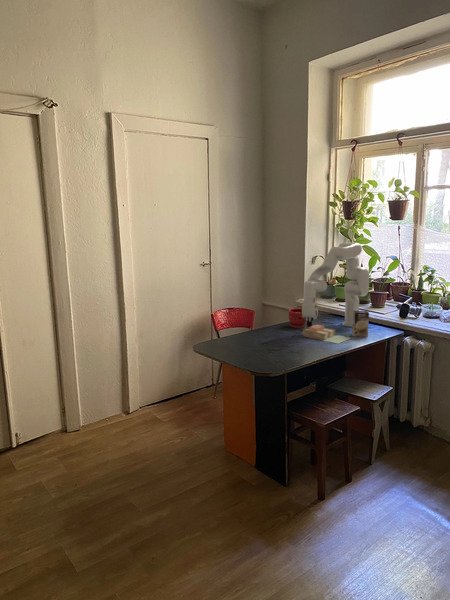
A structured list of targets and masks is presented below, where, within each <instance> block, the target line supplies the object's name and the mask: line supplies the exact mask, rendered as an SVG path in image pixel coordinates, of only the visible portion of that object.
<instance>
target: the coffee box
mask: <svg viewBox="0 0 450 600" xmlns="http://www.w3.org/2000/svg"><path fill="white" fill-rule="evenodd" d="M369 319H370V312H369V311H367V310H359V311H353V327H351V328H352V329H351V330H352V331H351V334H352V336H353V337H356V338H357V337H361V338H363V337H364V338H365V337H366V338H368V337H369Z"/></svg>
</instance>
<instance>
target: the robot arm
mask: <svg viewBox="0 0 450 600" xmlns="http://www.w3.org/2000/svg"><path fill="white" fill-rule="evenodd" d="M362 248H363V247H362V245H361V244H360V243H356V242H341V243H340V244H338V246H332V247H331V248H330V249H329V251H328V253H327V255H326V257H325V259H324V261H323V262H322V264H321V265H320V266H318V267H316V269H315V270H313V271H312V272H311V274H310V276H309V278H308V280H306V281H305V282H304V284H303V302H302V304H301V305H302V306H301V309H302V312H301V313H302V317H304V318H305V319H306V327H307V328H309V327H311V326H313V321H314V320H316V319H317V317H318V315H319V313H318V312H319V309H318V302H317V301H318V299H317V297H316V295H317V294H316V293H317V292H320V293H322V292H324V291H326V290H327V289H328V283H327V282H326V281H324V280H321V279H320V278H321V277H322V276H325V275H326V274H329V273H331V272H333V271H335V269H336V266H337V265H338V262H339V261H340V260H341V261H342V260H343V261H346V264H345V265H346V269H345V270H346V277H347V279H349V280H350V281H347V282H345V284H344V287H343V290H344V294H345V295H344V297H345V300H344V301H345V303H344V304H345V305H344V321H343V322H342V326H345V327H349V328H352V327H353V311H360V298H359V297H366V296H367V295H368V293H369V290H370V273H369V270H368V269H367V268H366V267H364V266H363V267H362V266H360V262H359V261H360V260H359V258H360V257H359V255H360V254H361V253H362V250H363V249H362ZM352 280H353V281H352Z"/></svg>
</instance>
